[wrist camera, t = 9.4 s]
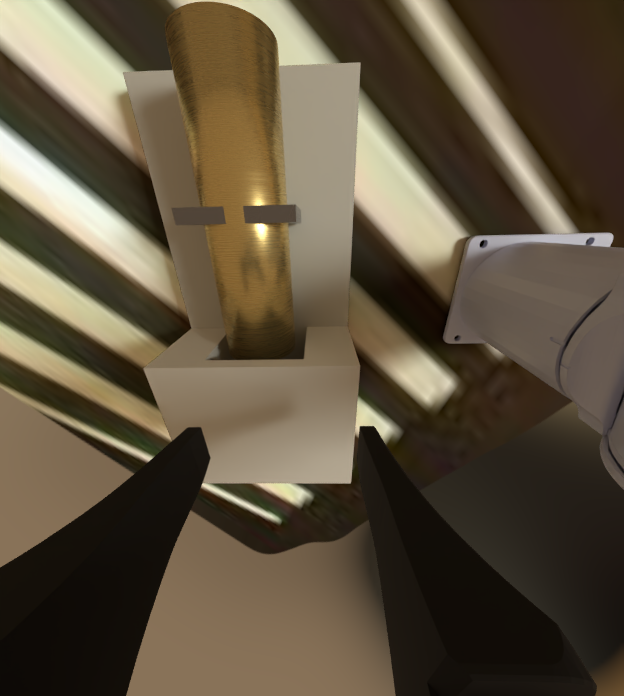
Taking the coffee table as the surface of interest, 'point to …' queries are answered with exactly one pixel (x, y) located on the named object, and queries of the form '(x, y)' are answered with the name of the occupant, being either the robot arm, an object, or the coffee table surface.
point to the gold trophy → (237, 169)
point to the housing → (307, 288)
